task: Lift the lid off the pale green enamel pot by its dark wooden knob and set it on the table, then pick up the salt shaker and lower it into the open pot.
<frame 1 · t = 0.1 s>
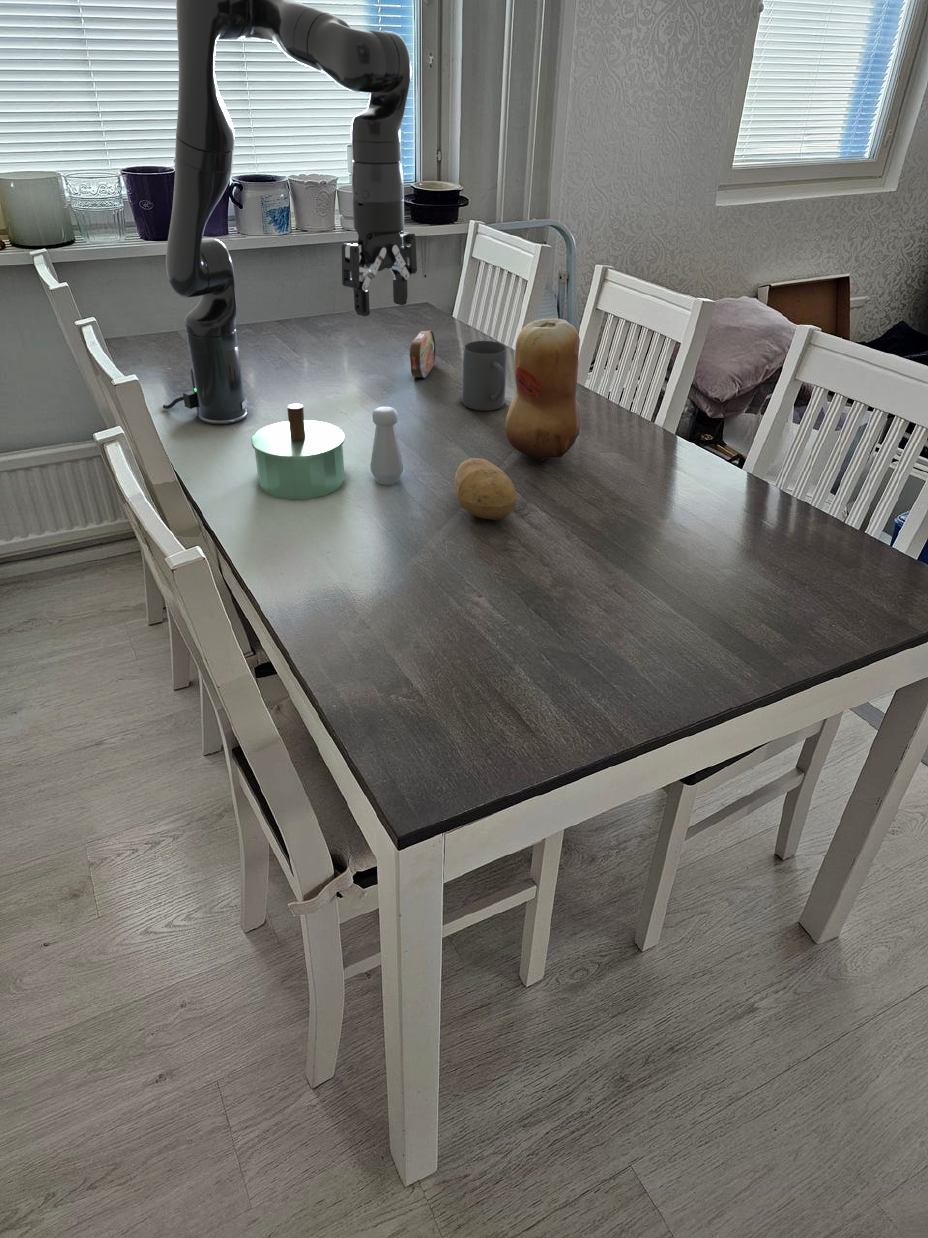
hand: (381, 309, 134), 29 cm above the table, tool pointing down, fingers open, 8 cm apart
pot lid: (298, 440, 146), point 7 cm above the table, touching pot
potato: (485, 515, 141), on the table
butternut squash: (540, 458, 160), on the table
mug: (487, 407, 181), on the table
pot: (302, 480, 150), on the table
salt shaker: (387, 480, 151), on the table
tin: (422, 372, 199), on the table
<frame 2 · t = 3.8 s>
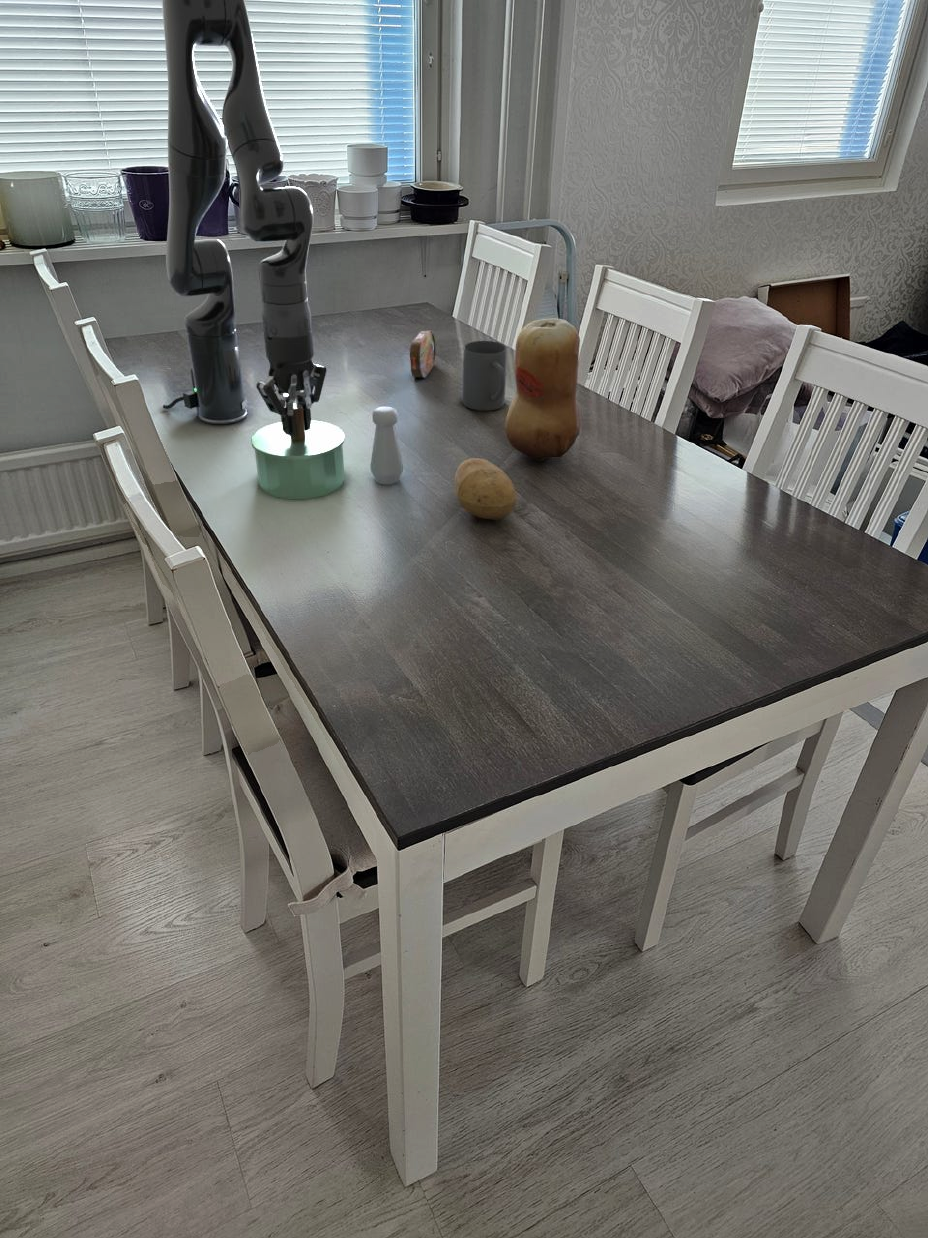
hand: (297, 431, 145), 9 cm above the table, tool pointing down, fingers closed on pot lid, 2 cm apart
pot lid: (298, 440, 146), point 7 cm above the table, touching gripper, pot
everything else where it was.
when the fingers open (2 cm above the table, at t = 12.7 s): pot lid stays where it is, point 1 cm above the table.
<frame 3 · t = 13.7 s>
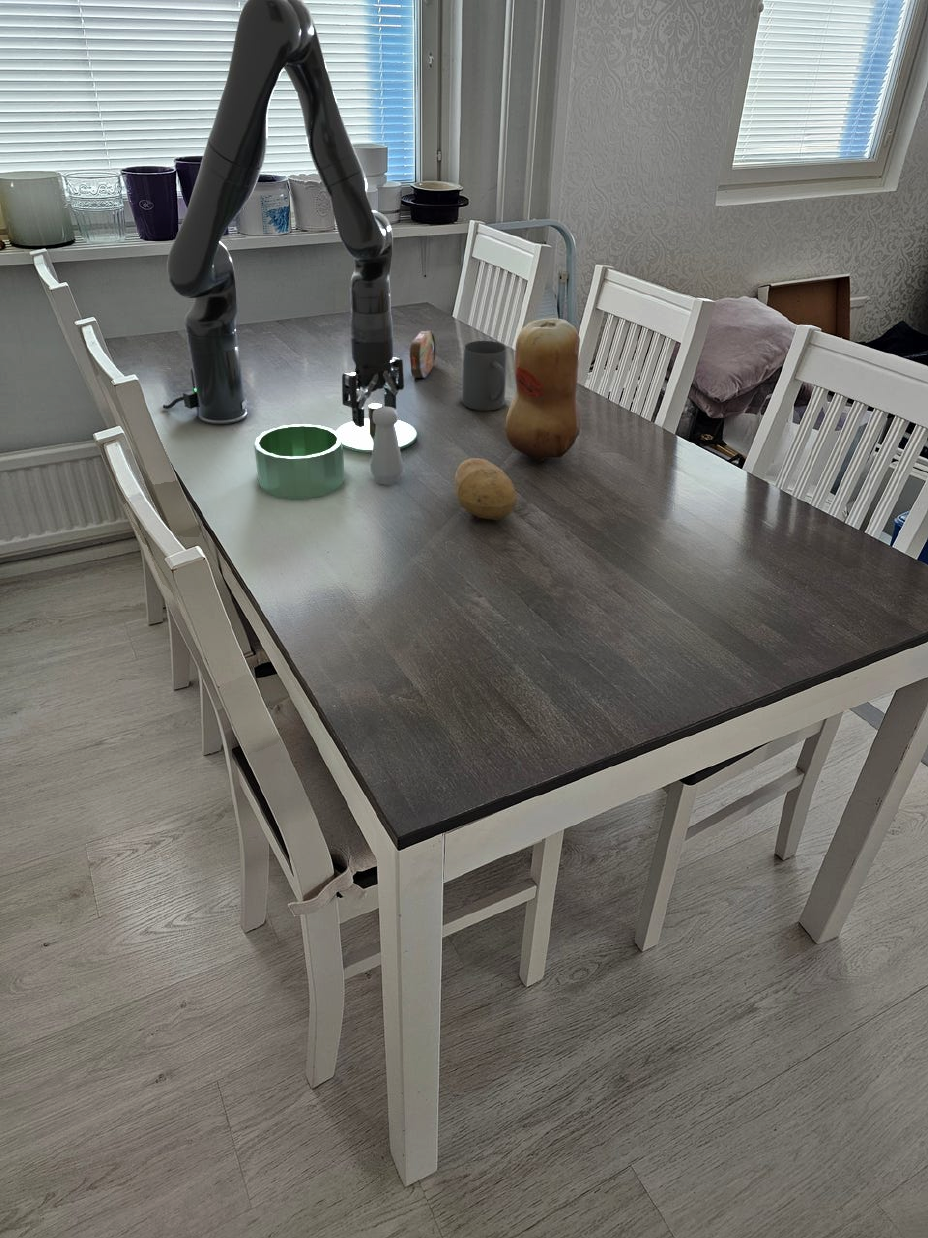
hand: (374, 419, 164), 4 cm above the table, tool pointing down, fingers open, 8 cm apart
pot lid: (376, 436, 165), point 1 cm above the table
everything else where it was.
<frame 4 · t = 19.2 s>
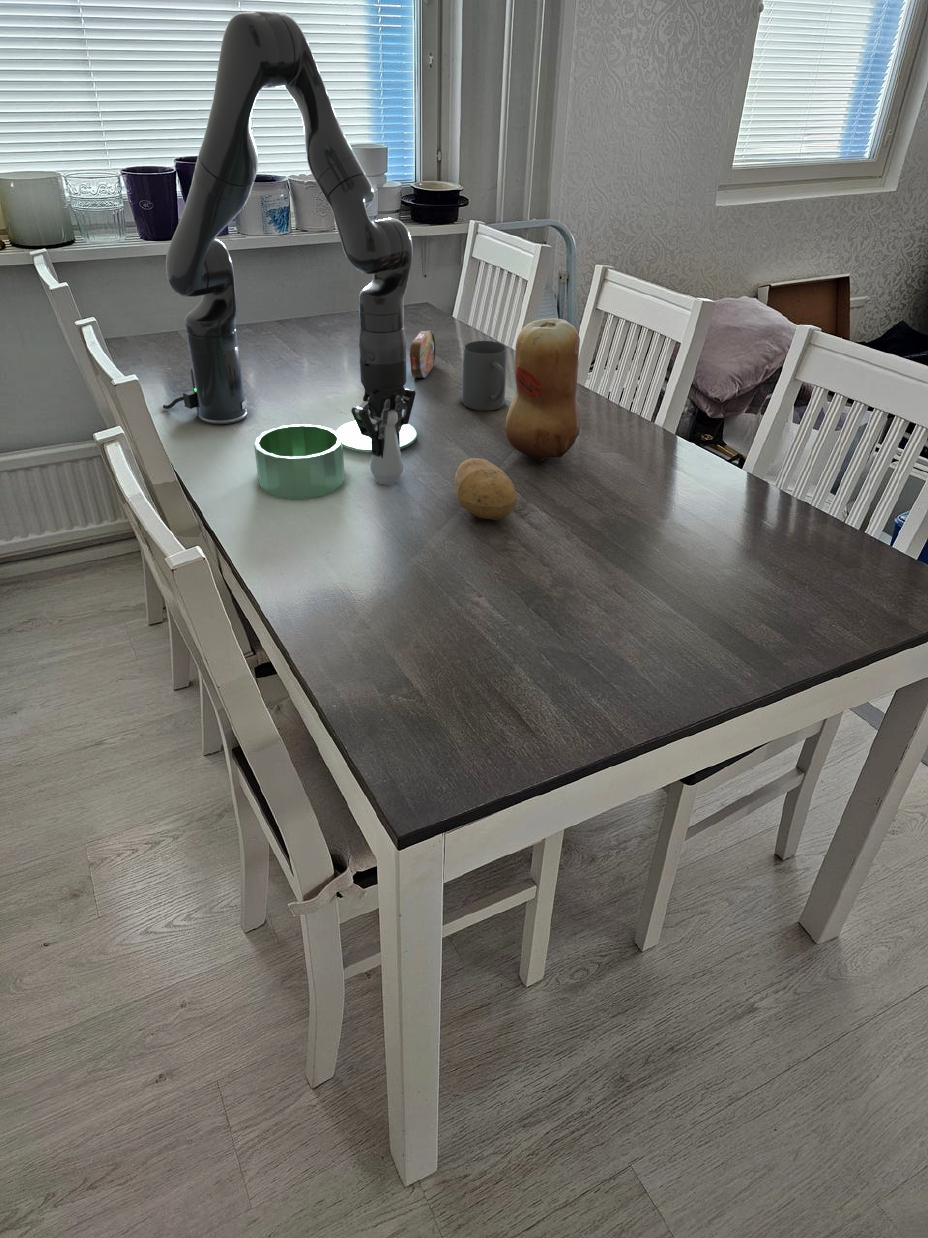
hand: (386, 453, 148), 5 cm above the table, tool pointing down, fingers closed on salt shaker, 3 cm apart
salt shaker: (387, 480, 151), on the table, touching gripper
everything else where it was.
when the fingers open (5 cm above the table, at t = 26.8 s): salt shaker stays where it is, resting on pot.
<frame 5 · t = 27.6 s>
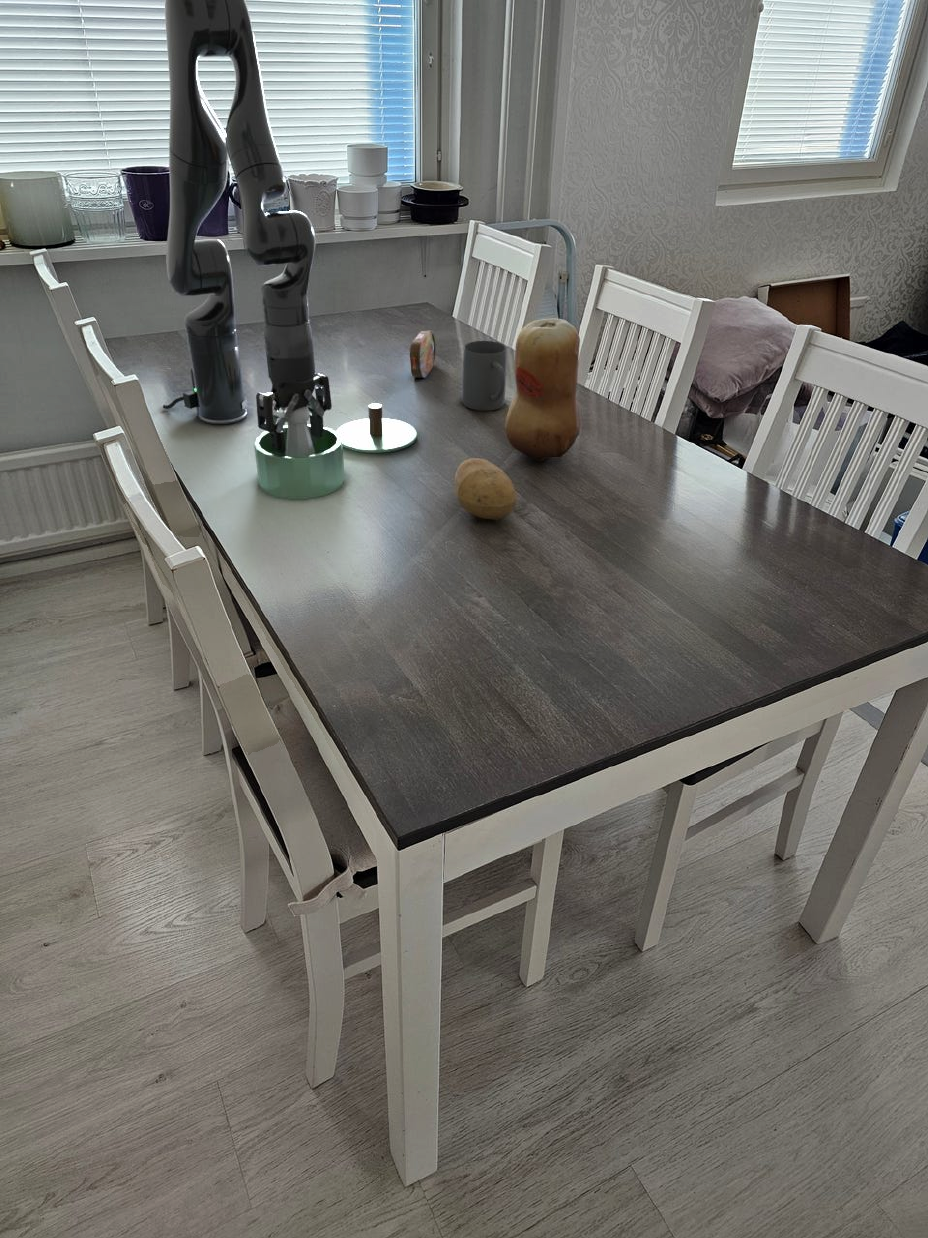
hand: (298, 443, 146), 7 cm above the table, tool pointing down, fingers open, 8 cm apart
salt shaker: (302, 479, 150), resting on pot
everything else where it was.
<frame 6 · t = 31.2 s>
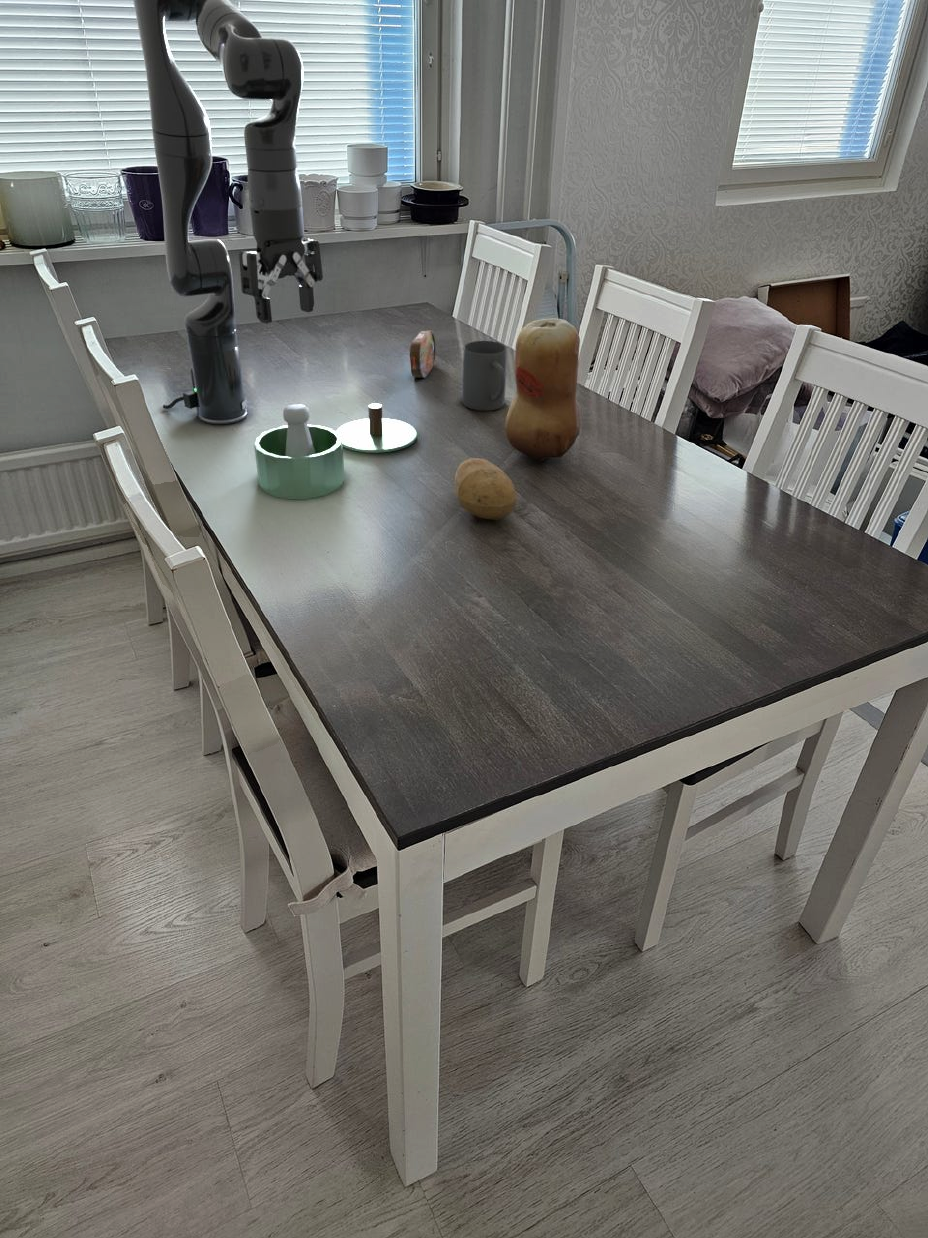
hand: (286, 316, 134), 28 cm above the table, tool pointing down, fingers open, 8 cm apart
nothing on the table moved.
at the end: pot lid inside the target area (0.1 cm from its centre), point 0.6 cm above the table; salt shaker inside the target area in the pot (0.1 cm from its centre), point 0.3 cm above the pot's base; salt shaker tilted 0° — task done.
